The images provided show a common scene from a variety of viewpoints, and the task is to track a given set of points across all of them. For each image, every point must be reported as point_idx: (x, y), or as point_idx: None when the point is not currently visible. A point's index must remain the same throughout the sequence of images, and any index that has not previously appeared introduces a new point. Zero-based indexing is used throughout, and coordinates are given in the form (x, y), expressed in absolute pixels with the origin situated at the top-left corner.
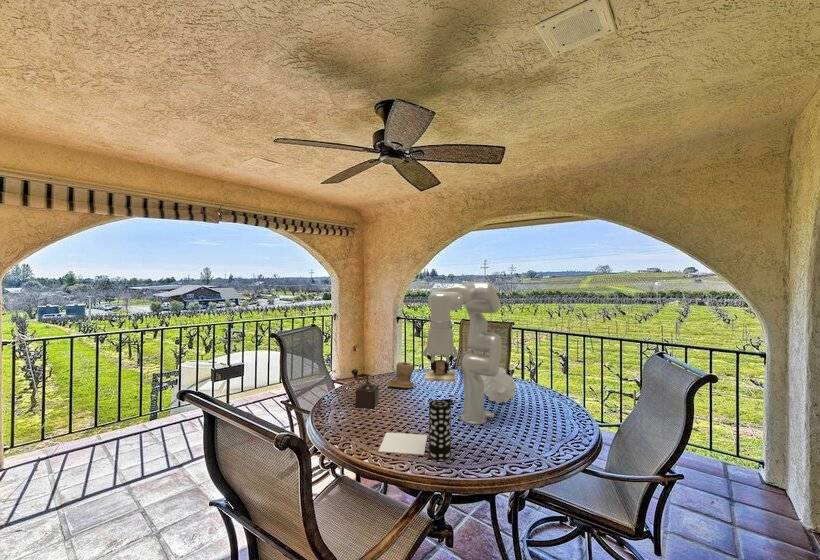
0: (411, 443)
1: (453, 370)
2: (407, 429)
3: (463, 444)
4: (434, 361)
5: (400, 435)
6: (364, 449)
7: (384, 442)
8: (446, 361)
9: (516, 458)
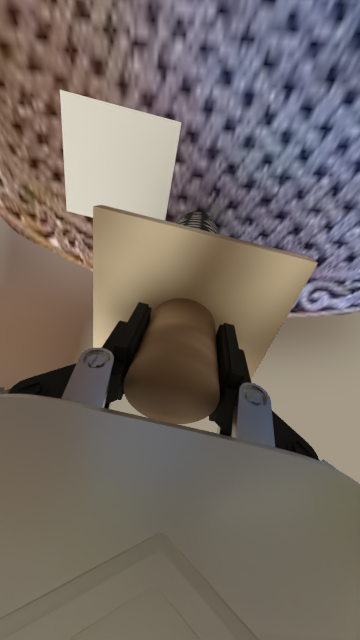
0: (136, 178)
1: (308, 260)
2: (122, 56)
3: (265, 190)
4: (117, 395)
5: (104, 120)
6: (35, 194)
7: (70, 165)
8: (217, 433)
9: (348, 266)
